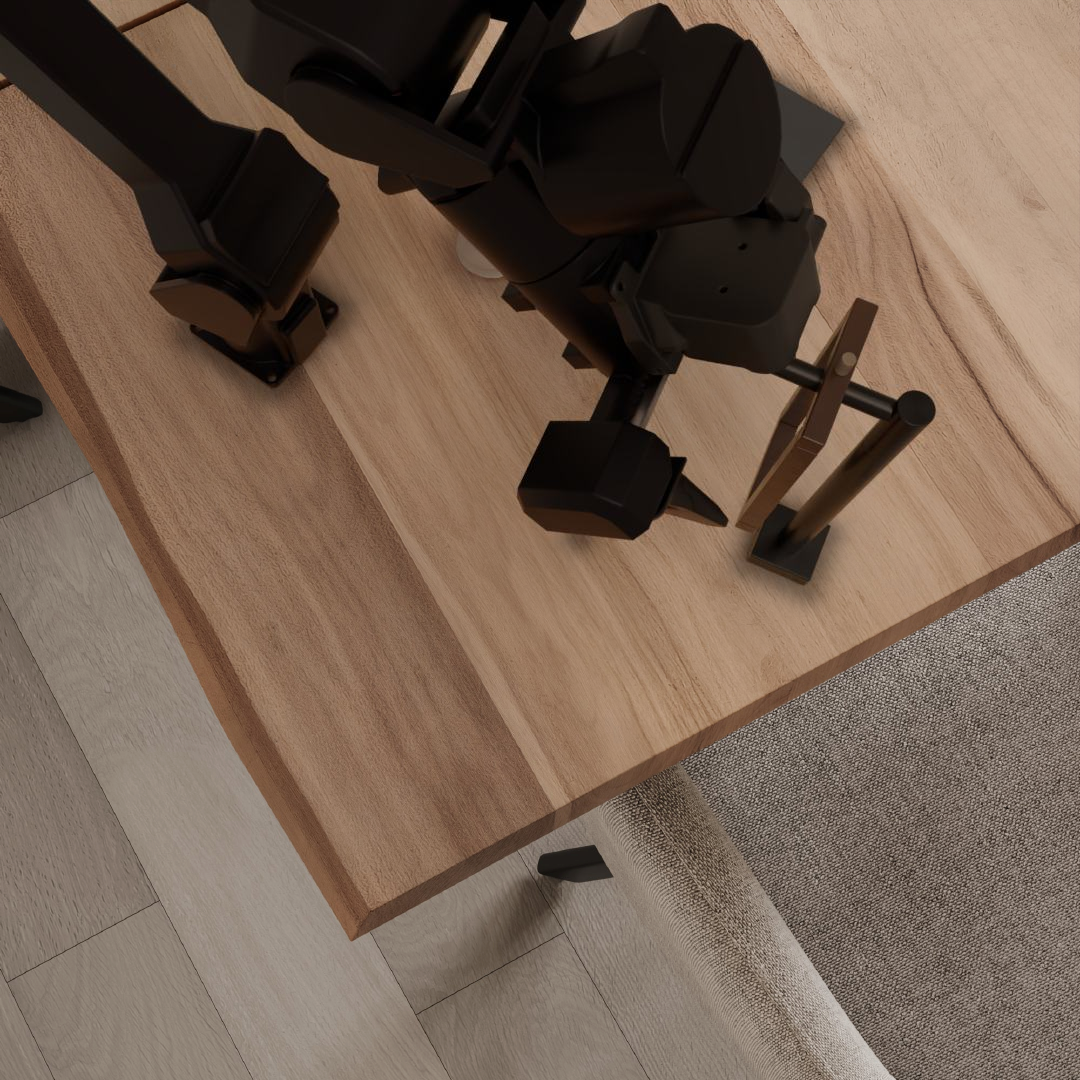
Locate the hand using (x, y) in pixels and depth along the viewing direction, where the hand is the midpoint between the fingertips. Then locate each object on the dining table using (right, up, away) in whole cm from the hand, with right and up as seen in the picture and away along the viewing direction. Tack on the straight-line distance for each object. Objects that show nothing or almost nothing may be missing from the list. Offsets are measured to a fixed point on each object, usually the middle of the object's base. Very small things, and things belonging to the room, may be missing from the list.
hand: (754, 440), depth 53 cm
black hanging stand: (+2, -4, +11) cm, 12 cm away
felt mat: (+5, +21, +18) cm, 29 cm away
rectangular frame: (+1, -1, +3) cm, 3 cm away
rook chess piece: (-13, +13, +15) cm, 24 cm away
